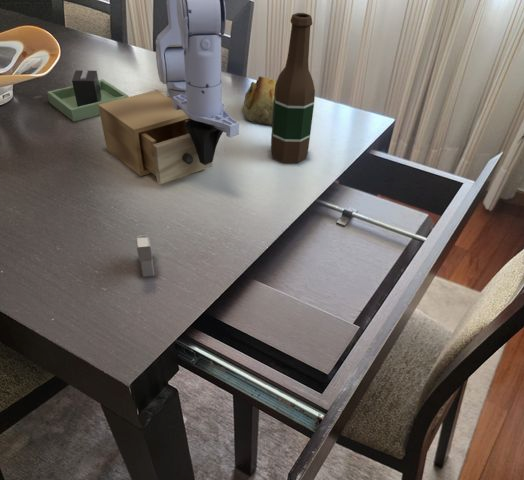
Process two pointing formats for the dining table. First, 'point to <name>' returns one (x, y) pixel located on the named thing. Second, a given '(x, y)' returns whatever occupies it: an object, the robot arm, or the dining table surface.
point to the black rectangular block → (86, 87)
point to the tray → (68, 105)
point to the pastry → (260, 101)
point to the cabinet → (135, 124)
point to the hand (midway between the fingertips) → (206, 162)
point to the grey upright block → (145, 255)
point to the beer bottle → (294, 97)
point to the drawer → (169, 152)
